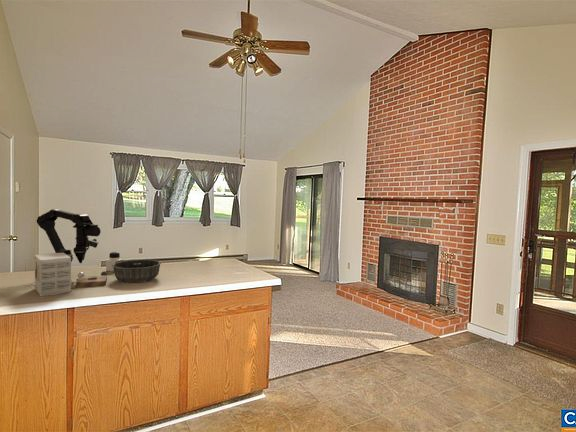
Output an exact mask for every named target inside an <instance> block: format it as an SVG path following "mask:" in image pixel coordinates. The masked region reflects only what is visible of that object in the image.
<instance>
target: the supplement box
mask: <svg viewBox="0 0 576 432" xmlns="http://www.w3.org/2000/svg"><path fill="white" fill-rule="evenodd" d="M34 288H35V291H37V293H38V295H39V296H40V297H44V296H53V295H59V294H64V293H65V294H67V293H71V292H72V291H71V288H72V262H71V257H70V256H68V255H66V254H65V253H55V252H51V253H43V254H42V253H41V254H40V253H39V254H34Z"/></svg>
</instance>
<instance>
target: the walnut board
mask: <svg viewBox="0 0 576 432" xmlns="http://www.w3.org/2000/svg"><path fill="white" fill-rule="evenodd" d="M107 282H108V274H107V275H104V276H101V275H92V276H91V275H90V276H89V275H87V276H84V277H79V278H77V281H76V282H75V288H87V287H88V288H89V287H100V286H101V287H102V286H106V285H107Z"/></svg>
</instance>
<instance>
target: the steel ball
mask: <svg viewBox="0 0 576 432" xmlns="http://www.w3.org/2000/svg"><path fill="white" fill-rule="evenodd" d="M79 277H86V276H85V273H84V272H81V271H80V272H79V273H78V274H77V279H79Z"/></svg>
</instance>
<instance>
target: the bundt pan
mask: <svg viewBox="0 0 576 432" xmlns="http://www.w3.org/2000/svg"><path fill="white" fill-rule="evenodd" d="M161 264H162V262H160V261H159V260H155V259H154V260H153V259H131V260H130V259H129V260H123V261H122V262H118V263H115V264H113V265H112V266H113V268H114V272H113V273H114V276H115V278H116V279H117V280H118V281H119V282H122V283H125V284H126V283H128V284H132V283H135V284H137V283H144V282H150V281H152V280H154V279H156V277H157V276H158V275H159V272H160V266H161Z"/></svg>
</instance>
